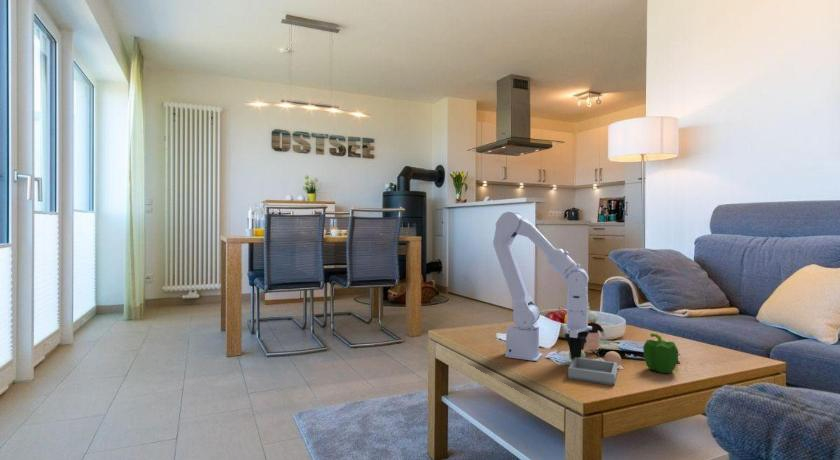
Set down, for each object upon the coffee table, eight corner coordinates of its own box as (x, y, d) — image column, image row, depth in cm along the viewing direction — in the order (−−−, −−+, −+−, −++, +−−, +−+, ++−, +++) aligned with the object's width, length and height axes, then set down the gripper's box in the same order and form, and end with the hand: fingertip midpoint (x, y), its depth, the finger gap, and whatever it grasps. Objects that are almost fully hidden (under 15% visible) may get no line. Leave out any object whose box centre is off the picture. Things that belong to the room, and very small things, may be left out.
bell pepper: (684, 372, 123) (684, 335, 123) (667, 377, 118) (668, 339, 118) (654, 364, 130) (654, 329, 130) (637, 369, 125) (637, 333, 125)
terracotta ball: (603, 368, 126) (603, 352, 126) (604, 364, 130) (605, 348, 130) (620, 370, 124) (620, 354, 124) (621, 366, 128) (621, 350, 128)
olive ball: (567, 363, 130) (567, 348, 130) (570, 359, 134) (570, 345, 134) (583, 366, 128) (584, 350, 128) (585, 362, 132) (586, 346, 132)
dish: (568, 378, 117) (568, 368, 117) (574, 367, 127) (574, 357, 127) (614, 385, 112) (614, 374, 112) (617, 373, 122) (617, 362, 122)
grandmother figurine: (602, 350, 144) (602, 310, 144) (606, 353, 140) (606, 313, 140) (577, 349, 145) (578, 310, 145) (580, 353, 141) (581, 312, 141)
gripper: (588, 316, 122) (588, 366, 123) (594, 307, 135) (594, 352, 135) (561, 313, 126) (561, 362, 126) (570, 305, 139) (569, 349, 139)
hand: (576, 357), depth 131 cm, fingers closed on olive ball, 4 cm apart
